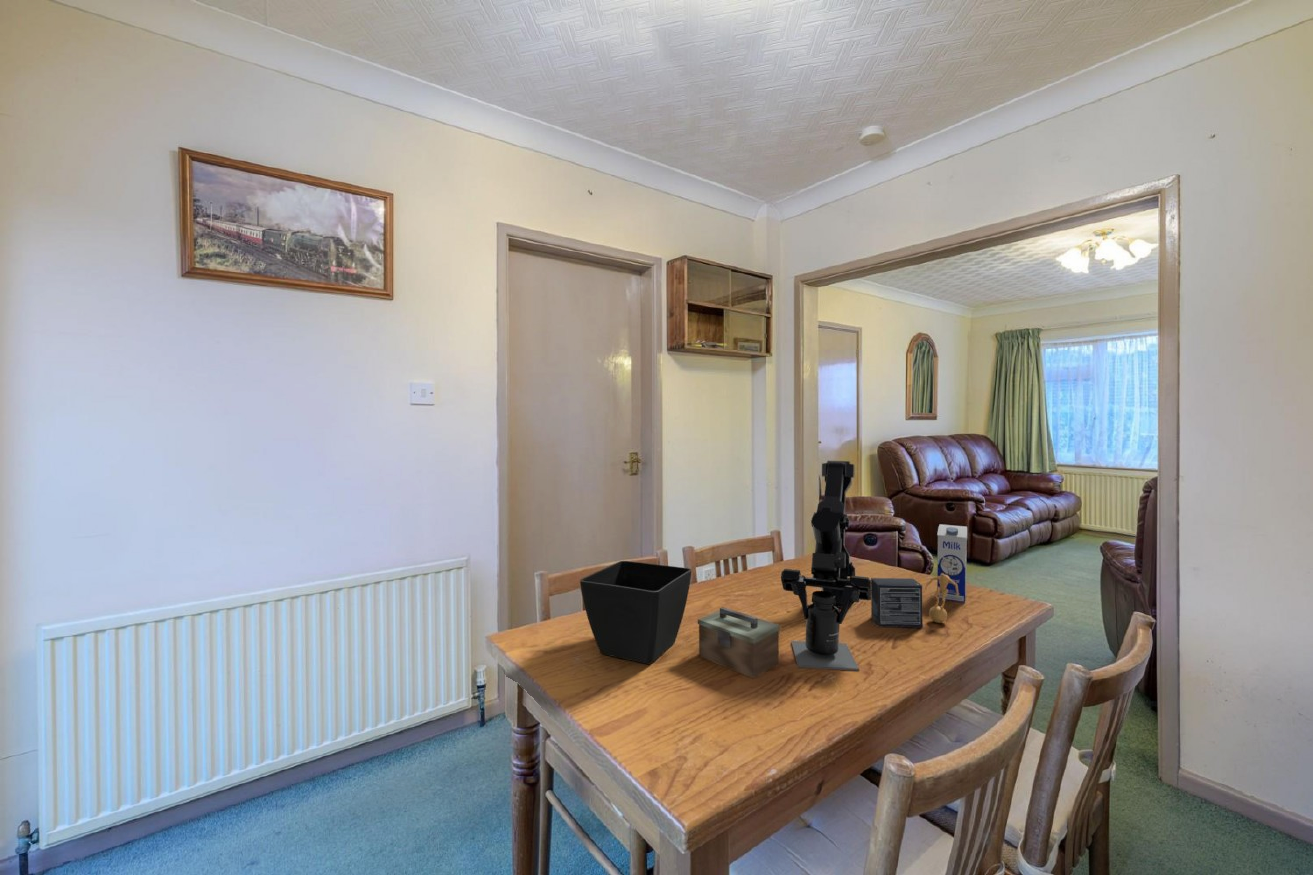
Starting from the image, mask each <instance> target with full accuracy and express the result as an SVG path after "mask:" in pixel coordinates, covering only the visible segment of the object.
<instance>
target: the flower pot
mask: <svg viewBox="0 0 1313 875" xmlns="http://www.w3.org/2000/svg"><path fill="white" fill-rule="evenodd" d="M691 578H692V569H691V568H690V567H679V566H673V565H663V564H657V563H647V562H640V561H629V560H620V561H618V562H615V563H613V564H610V565H609V566H606V567H604V568H602V569H600V570H597V571H596V572H593V573H591V574H589V575H587V576H584V577H583V578H581V579H579V584H580V590H581V596H582V600H583V605H584V609H585V613H586V618H587V619H588V624H589V627H590V630H591V633H592V635H593V637H594V640H595V643H596V646H597V648H598V650H599V653H600V654H602V655H606V656H610V657H615V658H619V659H624V660H628V661H634V662H638V663H642V664H643V663H644V664H649V665H650V664H652V663H654V662H655V661H657V659H658V658H660V657H661V655H663V654H664V653H665V652H666V651H668V649H670V647H672V646H673V645H674V644H675V642H676V640H677V637H678V634H679V630H680V627H681V624H682V620H683V617H684V614H685V609H686V605H687V601H688V595H689V591H690V585H691Z"/></svg>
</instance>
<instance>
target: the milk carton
mask: <svg viewBox="0 0 1313 875" xmlns="http://www.w3.org/2000/svg"><path fill="white" fill-rule="evenodd" d="M936 536H937V569H936V570H937V576H936V577H938V576H940V575H941V573H943V574H945V575H948V576H949V578H950V579H951V580H952V581H953V582H955V583H956V584H957V585H958V593H959V598H957V597H956V596H957V595H956V594H957V592H956V587H955V585H953V584H952V583H950V582H949V583H948V585H947V587H946V589H948V593H947V595H946V597H945V598H944V599H945V600H946V601H949V600H951V602H956V601H957V602H958V603H963V604H965V603H966V600H967V599H966V597H967V551H968V550H967V549H968V547H967V544H968V543H967V541H968V526H964V525H952V524H951V525H950V524H939V526H938V527H937V534H936ZM936 585H937V586H936V588H937V587H939V588H940V583H939V579H938V580H937V583H936ZM941 593H942V592H940V594H939V595H938V596H937V597H939V600H942V594H941ZM957 602H956V603H957Z"/></svg>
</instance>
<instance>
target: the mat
mask: <svg viewBox="0 0 1313 875" xmlns="http://www.w3.org/2000/svg"><path fill="white" fill-rule="evenodd" d="M805 641H806V640H805ZM805 641H804V640H790V642H791V643H790V644H791V647H792V650H793V655H794V658H795V661H796V662H795V663H796V666H797V668H806V669H819V670H820V669H822V670H824V669H825V670H840V671H860V667H859V665H858V664H857V662H856V660H855V658H854V656H853V654H852V652H851V650H850V649H849V646H848V645H847V643H843V642H839V646H838V652H837V653H836V654H834V655H819V654H815V653H813V652H811V651H809V650H808V649H807V648H806V645H805Z"/></svg>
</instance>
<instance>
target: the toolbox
mask: <svg viewBox="0 0 1313 875" xmlns="http://www.w3.org/2000/svg"><path fill="white" fill-rule="evenodd" d="M697 624H698V648H699V649H698V656H699V657H701V658H703V659H706V660H708V661H710V662H712V663H715V664H717V665H720V666H723V667H725V668H727V669H730V670H732V671H735V672H737V673H739V674H742V675H745V676H747V677H750V678H752V679H755V678H757V677H758V676H760V675H762V674H764V673H765V672H767V671H768V670H770V669H772V668H774V667H775V666H776V665H778V664H779V663H780V661H779V660H780V658H779V656H780V652H779V650H780V649H779V648H780V647H779V646H780V644H779V643H780V642H779V641H780V640H779V639H780V638H779V634H780V633H779V631H781V624H777V623H774V622H771V621H768V620H764V619H761V618H758V617H756V616H753V615H749V614H746V613H744V612H740V611H737V610H733V609H730V608H728V607H724V606H722V607H719V609H718V610H716V611H714V612H712V613H709V614H706V615H704V616H702V617H699V618H698V619H697Z"/></svg>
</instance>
